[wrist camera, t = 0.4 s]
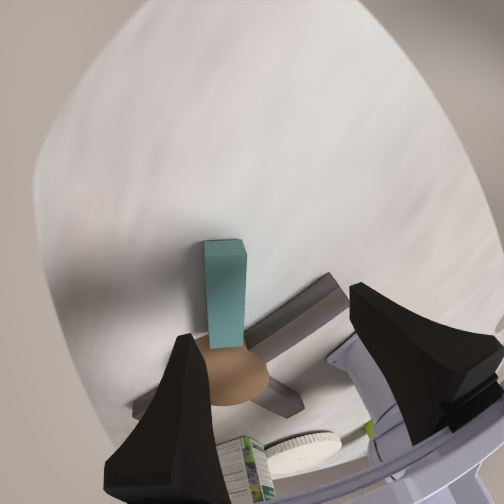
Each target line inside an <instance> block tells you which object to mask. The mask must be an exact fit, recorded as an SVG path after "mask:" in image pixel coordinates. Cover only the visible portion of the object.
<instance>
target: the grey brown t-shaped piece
mask: <svg viewBox="0 0 504 504" xmlns="http://www.w3.org/2000/svg"><path fill="white" fill-rule="evenodd" d="M349 306H350V300H349V299H348V297H347V296H346V295H345V293H344V292H343V290H342V289H341V287H340V286H339V285H338V283H337V282H336V281H335V279H334V278H333V276H332V275H331V274H330V272H329V273H328V274H326V275H325V276H324V277H322V278H321V279H320V280H318V281H317V282H316V283H314V284H313V285H312V286H310V287H309V288H308V289H306V290H305V291H303V292H302V293H301V294H299V295H298V296H297V297H295V298H294V299H292V300H291V301H290V302H288V303H287V304H285V305H284V306H283V307H281V308H280V309H278V310H277V311H276V312H274V313H273V314H271V315H270V316H268V317H267V318H265V319H264V320H263V321H261V322H260V323H258V324H257V325H255V326H254V327H252V328H251V329H249V330H248V331H246V332H245V333H244V334H243V346H238V347H227V348H215V349H210V343H209V335H206V336H204V337H202V338H200V339H198V340H196V341H195V342H196V344H197V346H198V348H199V350H200V352H201V354H202V356H203V358H204V360H205V362H206V367H207V372H208V378H209V385H210V400H211V405H213V406H231V405H236V404H240V403H244V402H246V401H249V400H250V401H252V402H254V403H256V404H258V405H260V406H262V407H264V408H266V409H268V410H270V411H272V412H274V413H276V414H278V415H280V416H282V417H285V418H289V417H291V416H293V415H295V414H297V413H298V412H300V411H302V410H304V409H305V407H304V404H303V401H302V399H301V396H300V395H299V394H297V393H296V392H294V391H293V390H291V389H289V388H288V387H286V386H285V385H283V384H281V383H280V382H278V381H277V380H275V379H274V378H272V377H271V376H269V373H268V370H267V367H266V363H267V362H269V361H270V360H272V359H273V358H275V357H277V356H278V355H280V354H281V353H283V352H284V351H286V350H288V349H289V348H291V347H292V346H294V345H295V344H297V343H298V342H300V341H301V340H303V339H304V338H306V337H307V336H309V335H310V334H312V333H313V332H314V331H316V330H317V329H319V328H320V327H322V326H323V325H325V324H326V323H327V322H329V321H330V320H332V319H333V318H334V317H336V316H337V315H339V314H340V313H341V312H343V311H344V310H345V309H347V308H348V307H349ZM156 390H157V389H155V390H153V391H152V392H150V393H148V394H146V395H145V396H143V397H141V398H140V399H138V400H136V401H134V402H133V414H132V417H133V418H135V419H137V420H139V421H140V419H141V418H142V416H143V415H144V413H145V411H146V410H147V408H148V406H149V404H150V402H151V401H152V399H153V397H154V395H155V393H156Z"/></svg>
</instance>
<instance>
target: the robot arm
mask: <svg viewBox="0 0 504 504" xmlns="http://www.w3.org/2000/svg"><path fill="white" fill-rule="evenodd" d="M349 291H350V321H351V323H352V325H353V327H354V329H355V331H356V334H354V335H353V336H352V337H351V338H350V339H349V340H348V341H346V342H345V343H344V344H343V345H342V346H341V347H339V348H338V349H337V350H336V351H335V352H333V353H332V354H331V355H330V356H328V357H327V359H326V361H327V363H328V364H330V365H332V366H334V367H336V368H339V369H341V370H343V371H345V372H347V373H348V374H349V376H350V378H351V380H352V382H353V384H354V385H355V387H356V389H357V391H358V393H359V395H360V397H361V399H362V401H363V403H364V405H365V407H366V409H367V411H368V413H369V415H370V417H371V418H372V420H373V422H374V424H375V425H374V426H373V427H372V428H371V431H372V433H373V437H371V438H370V440H369V445H368V457H369V461H370V463H371V466H372V467H369V468H367V469H365V470H363V471H360V472H357V473H355V474H352V475H350V476H348V477H345V478H342V479H340V480H337V481H334V482H331V483H328V484H325V485H322V486H319V487H316V488H312V489H309V490H306V491H302V492H299V493H295V494H291V495H288V496H283V497H279V498H275V499H271V500H266V501H261V502H256V503H251V504H321V503H324V502H327V501H330V500H333V499H336V498H339V497H341V496H344V495H347V494H350V493H352V492H355V491H357V490H360V489H362V488H365V487H367V486H369V485H372V484H374V483H376V482H379V481H382V482H383V483H385V484H386V485H384V486H382V487H379V488H377V489H375V490H372V491H370V492H367V493H365V494H362V495H360V496H357V497H355V498H352V499H349V500H347V501H344V502H341V503H339V504H495V503H494V501H493V499H492V498H491V496H490V494H489V492H488V491H487V489H486V487H485V485H484V484H483V482H482V480H481V479H480V477H479V475H478V473H477V472H478V470H479V468H480V465H481V464H482V461H483V460H484V459H485V458H487V457H488V456H489V455H491V454H492V453H493V452H494V451H495V450H497V449H498V448H499V447H500V446H501V445H502V444H503V443H504V380H503V381H502V382H501V383H500V385H499V384H498V382H497V381H496V380H497V379H498V376H497V374H496V373H495V371H496V369H497V368H498V366H499V364H500V363H501V361H502V359H503V357H504V346H503V345H502V344H501V343H500V342H499V341H498V340H497V339H496V338H495V337H494V336H492V335H485V334H477V333H472V332H467V331H463V330H459V329H455V328H452V327H448V326H445V325H442V324H439V323H437V322H434V321H431V320H429V319H427V318H424V317H422V316H420V315H418V314H416V313H414V312H412V311H410V310H408V309H406V308H404V307H402V306H400V305H398V304H397V303H395V302H393V301H391V300H390V299H388V298H386V297H385V296H383V295H382V294H380V293H378V292H377V291H375V290H374V289H372V288H370V287H369V286H367V285H365V284H364V283H362V282H360V283H357V284H354V285H351V286H349ZM103 490H104V491H105V492H106V493H107V494H109V495H110V496H112V497H114V498H117V499H119V500H121V501H123V502H126V503H127V504H232V503H231V500H230V497H229V494H228V491H227V487H226V484H225V480H224V477H223V473H222V469H221V465H220V461H219V457H218V453H217V448H216V443H215V438H214V433H213V426H212V415H211V400H210V385H209V378H208V372H207V367H206V362H205V360H204V358H203V356H202V354H201V352H200V350H199V348H198V346H197V344H196V342H195V340H194V338H193V336H192V334H191V333H189V334H184V335H180V336H178V337H177V338H176V341H175V344H174V347H173V350H172V353H171V356H170V359H169V361H168V364H167V367H166V369H165V372H164V374H163V377H162V379H161V382H160V384H159V386H158V388H157V390H156V393H155V395H154V397H153V399H152V401H151V402H150V404H149V406H148V408H147V410H146V411H145V413H144V415H143V416H142V418H141V419H140V421H139V423H138V424H137V426H136V427H135V428H134V430H133V431H132V432H131V434H130V435H129V436H128V438H127V439H126V440H125V441H124V443H123V444H122V445H121V446H120V447H119V448H118V450H117V451H116V452H115V453H114V454H113V455H112V456H111V457H110V458H109V459H108V460H107V461H106V462H105V467H104V487H103Z"/></svg>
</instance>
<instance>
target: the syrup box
mask: <svg viewBox="0 0 504 504" xmlns="http://www.w3.org/2000/svg"><path fill="white" fill-rule="evenodd" d="M216 448H217V453H218V457H219V461H220V465H221V469H222V473H223V477H224V480H225V484H226V487H227V491H228V494H229V497H230V500H231V503H232V504H251V503H256V502H261V501H266V500H271V499H275V498H276V495H275V491H274V487H273V483H272V479H271V475H270V471H269V467H268V463H267V459H266V455H265V451H264V447H263V445H262V444H259V443H257V442H256V441H254V440H252V439H250V438H248V437H247V436H243V437H240V438H238V439H235V440H232V441H229V442H226V443H223V444H220V445H217V446H216Z"/></svg>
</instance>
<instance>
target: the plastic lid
mask: <svg viewBox="0 0 504 504" xmlns="http://www.w3.org/2000/svg"><path fill="white" fill-rule="evenodd" d="M341 447H342V443H341V441H340V438H339V436H338V435H337V434H334V433H330V432H329V433H327V432H326V433H324V432H323V433H316V434H311V435H310V434H309V435H305V436H300V437H297V438H295V439H294V438H293V439H292V440H288V441H285V442H283V443H280V444H277V445H276V446H273V447H271V448H270V449H267V450H265V455H266V459H267V463H268V467H269V471H270V474H283V473H289V472H295V471H299V470H302V469H306V468H309V467H312V466H314V465H316V464H318V463H321V462H323V461H325V460H327V459H329V458H330V457H332V456H333V455H334V454H336V453H337V451H339V450H340V448H341Z"/></svg>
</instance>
